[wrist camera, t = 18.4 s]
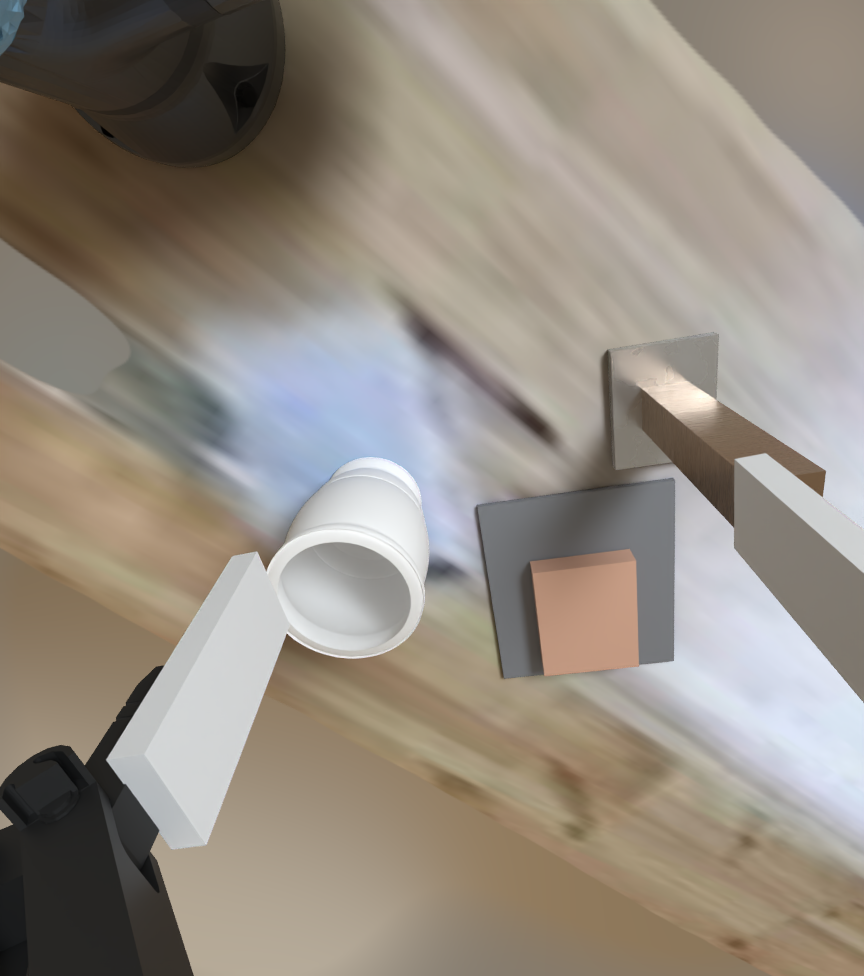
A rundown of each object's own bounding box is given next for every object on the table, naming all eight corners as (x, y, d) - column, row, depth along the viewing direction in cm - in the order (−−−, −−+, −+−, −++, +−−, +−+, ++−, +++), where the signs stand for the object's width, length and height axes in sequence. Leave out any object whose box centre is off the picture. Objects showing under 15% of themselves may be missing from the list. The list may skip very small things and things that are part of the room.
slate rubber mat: (477, 504, 50) (477, 507, 49) (672, 478, 48) (675, 480, 48) (503, 675, 58) (504, 678, 58) (672, 657, 56) (673, 660, 56)
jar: (303, 528, 52) (249, 635, 38) (332, 428, 47) (282, 507, 34) (412, 562, 53) (397, 677, 39) (449, 467, 49) (447, 559, 35)
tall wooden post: (607, 349, 44) (706, 426, 27) (713, 332, 43) (885, 399, 26) (612, 465, 48) (701, 597, 31) (709, 451, 47) (855, 579, 30)
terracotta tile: (532, 573, 50) (544, 676, 54) (636, 560, 49) (638, 666, 54) (529, 560, 52) (541, 660, 56) (629, 547, 51) (632, 651, 55)
